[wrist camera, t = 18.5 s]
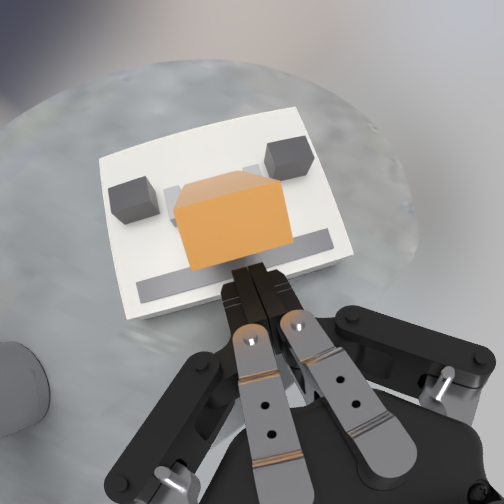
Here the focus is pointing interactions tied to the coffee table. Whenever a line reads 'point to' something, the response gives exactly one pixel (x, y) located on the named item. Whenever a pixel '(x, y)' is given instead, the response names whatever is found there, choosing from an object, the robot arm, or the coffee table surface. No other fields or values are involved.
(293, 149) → the white slotted plate
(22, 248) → the coffee table surface
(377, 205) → the coffee table surface
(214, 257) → the breaker handle
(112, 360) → the coffee table surface
